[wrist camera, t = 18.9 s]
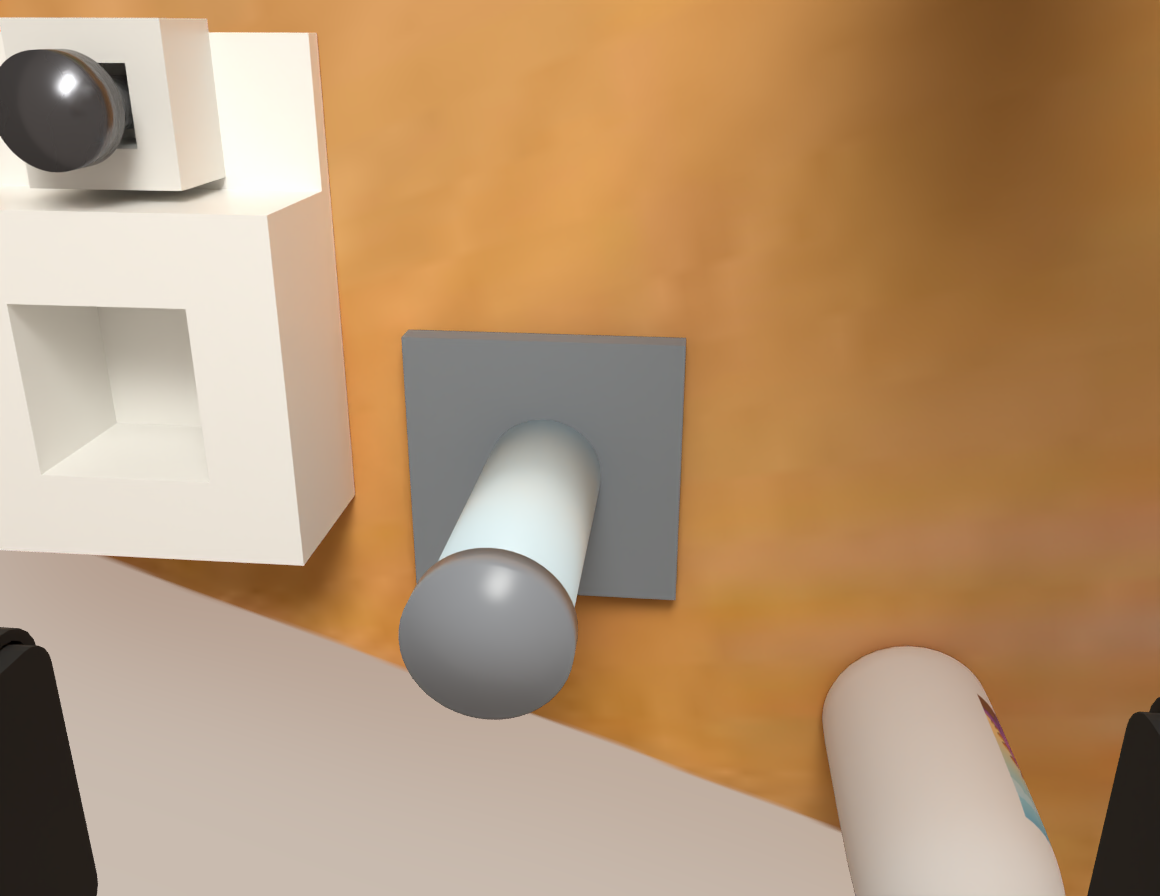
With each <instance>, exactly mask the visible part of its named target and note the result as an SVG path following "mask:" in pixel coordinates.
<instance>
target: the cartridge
mask: <svg viewBox="0 0 1160 896" xmlns="http://www.w3.org/2000/svg"><path fill="white" fill-rule="evenodd" d="M600 483H601V468H600V463H599V460H598V457H597V454H596V452H595V450H594V448H593V447H592V445H591V444H590V443H589V441H588V440H587V439H586V438H585V437H584V436H583V435H582V434H580V433H579V432H578V431H576V430H575V429H573V428H572V427H570V426H568V425H565V424H563V423H560V422H556V421H552V420H532V421H527V422H524V423H521V424H519V425H516V426H514V427H513V428H511V429H509V430H508V431H507V432H506V433H504V434H503V435H502V436H501V437H500V438H499V440H498V441H497V443H496V444H495V446H494V448H493V450H492V452H491V454H490V456H489V458H488V460H487V462H486V464H485V466H484V468H483V470H482V472H481V474H480V476H479V478H478V480H477V482H476V484H475V486H474V489H473V491H472V493H471V495H470V497H469V499H468V501H467V503H466V505H465V507H464V509H463V511H462V513H461V515H460V517H459V519H458V521H457V523H456V525H455V528H454V530H453V532H452V534H451V536H450V538H449V540H448V542H447V544H446V546H445V548H444V550H443V552H442V554H441V556H440V558H439V560H438V562H437V563H435V564H434V565H433V566H432V567H430V568H429V569H428V570H427V571H426V572H425V573H424V574H423V576H422V577H421V579H420V580H419V581H418V583H417V585H416V587H415V589H414V590H413V592H412V594H411V596H410V598H409V600H408V602H407V604H406V606H405V608H404V610H403V613H402V616H401V619H400V625H399V645H400V651H401V654H402V658H403V661H404V663H405V665H406V668H407V670H408V671H409V673H410V675H411V676H412V678H413V679H414V680H415V682H416V683H417V684H418V685H419V687H420V688H421V689H422V690H423V691H424V692H425V693H426V694H427V695H429V696H430V697H431V698H433V699H434V700H435V701H437V702H438V703H440V704H441V705H443V706H445V707H447V708H449V709H451V710H453V711H455V712H458V713H461V714H463V715H466V716H470V717H475V718H481V719H509V718H514V717H518V716H522V715H525V714H528V713H530V712H532V711H534V710H536V709H538V708H540V707H542V706H543V705H545V704H546V703H548V702H549V701H550V700H551V699H552V698H553V697H554V696H555V695H556V694H557V693H558V692H559V691H560V690H561V688H562V687H563V685H564V684H565V682H566V680H567V679H568V676H569V674H570V671H571V668H572V664H573V660H574V655H575V649H576V644H577V638H578V620H577V616H576V611H575V603H576V598H577V594H578V589H579V584H580V579H581V574H582V569H583V565H584V560H585V555H586V550H587V545H588V540H589V536H590V531H591V526H592V521H593V516H594V512H595V507H596V502H597V497H598V492H599V487H600Z"/></svg>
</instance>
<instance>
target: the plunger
mask: <svg viewBox="0 0 1160 896" xmlns="http://www.w3.org/2000/svg"><path fill="white" fill-rule="evenodd" d="M132 128H134V122H133V115H132V108H131V101H130V94H129V87H128V81H127V74H120V75H109V74H108V73H107V72H106V71H105V70H104V69H103V67H101V66H100V65H99V64H98V63H97V62H96V61H94V60H93V59H91V58H90V57H88V56H86V55H84V54H82V53H79V52H77V51H73V50H69V49H36V50H26V51H22V52H19V53H16V54H14V55H13V56H11V57H9V58H8V59H7V60H6V61H4V62H3V63H2V65H1V66H0V136H1V138H2V140H3V141H4V143H5V144H6V145H7V146H8V148H9V149H10V150H11V151H12V152H13V153H14V154H15V155H16V156H18V157H19V158H20V159H21V160H23V161H24V162H26V163H27V164H29V165H31V166H33V167H35V168H38V169H40V170H43V171H48V172H67V171H72V170H76V169H80V168H85V167H89V166H93V165H96V164H99V163H101V162H103V161H104V160H106V159H107V158H108V157H110V156H111V155H112V154H113V153H114V151H115V150H116V149H117V147H118V146H119V144H120V141H121V139H122V136H123V133H124V130H127V129H132Z"/></svg>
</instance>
